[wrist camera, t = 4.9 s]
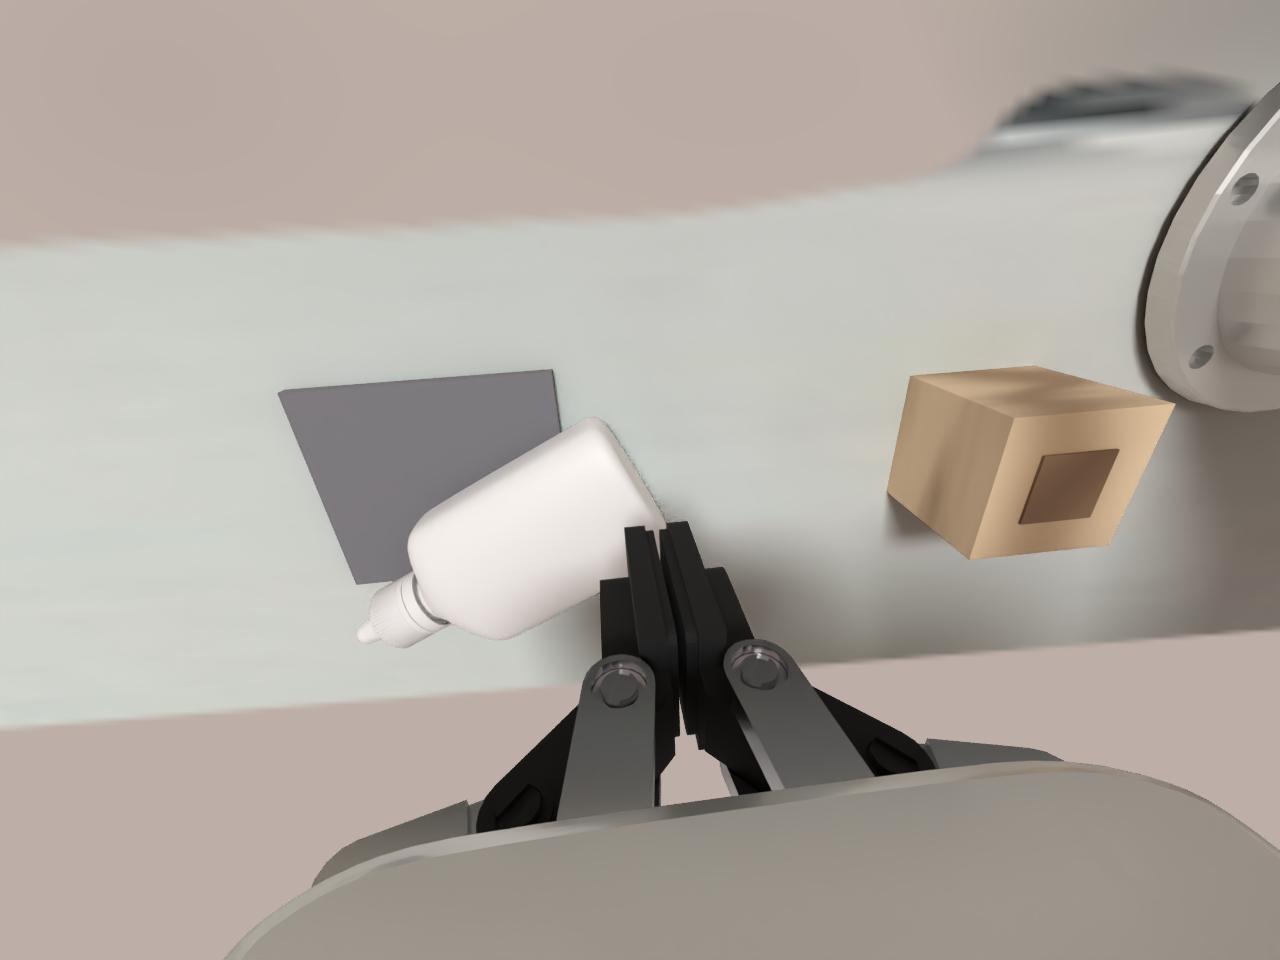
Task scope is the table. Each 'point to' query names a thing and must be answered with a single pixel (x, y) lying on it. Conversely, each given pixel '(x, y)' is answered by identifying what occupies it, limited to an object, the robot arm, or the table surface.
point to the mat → (411, 451)
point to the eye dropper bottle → (519, 542)
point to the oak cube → (1021, 458)
